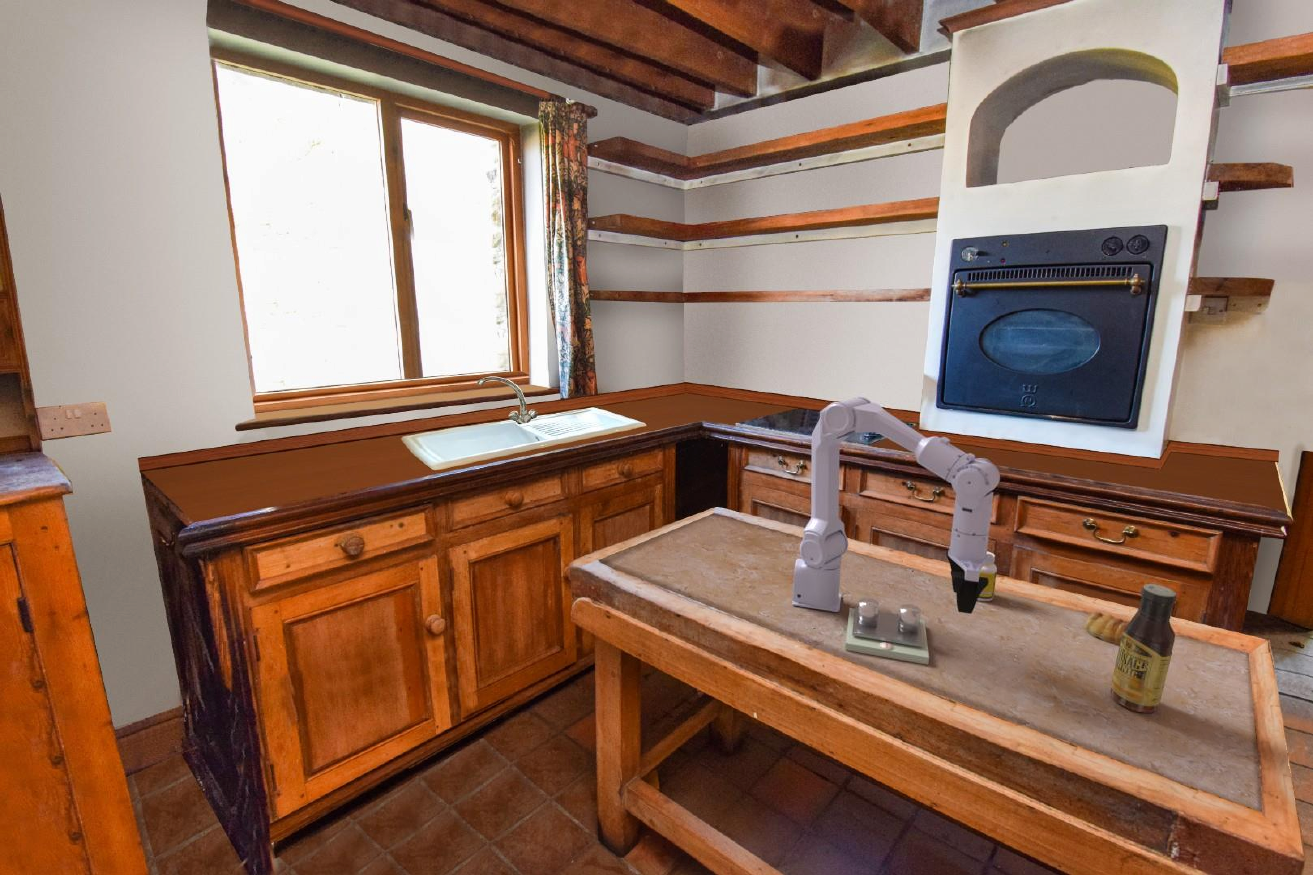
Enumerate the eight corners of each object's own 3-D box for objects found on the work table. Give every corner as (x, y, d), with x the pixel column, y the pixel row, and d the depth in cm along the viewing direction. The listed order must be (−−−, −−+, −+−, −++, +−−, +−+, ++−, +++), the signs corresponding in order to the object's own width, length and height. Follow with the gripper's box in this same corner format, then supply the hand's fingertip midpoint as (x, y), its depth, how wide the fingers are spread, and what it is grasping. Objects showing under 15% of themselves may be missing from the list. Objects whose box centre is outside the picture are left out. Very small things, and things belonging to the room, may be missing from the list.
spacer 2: (899, 631, 114) (900, 612, 113) (896, 622, 117) (898, 603, 116) (920, 634, 113) (921, 614, 112) (916, 624, 116) (918, 605, 116)
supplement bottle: (997, 603, 129) (1002, 560, 127) (969, 600, 130) (974, 557, 128) (988, 591, 135) (994, 549, 132) (962, 589, 136) (966, 547, 134)
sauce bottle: (1099, 691, 100) (1119, 579, 96) (1135, 689, 101) (1156, 577, 96) (1133, 718, 94) (1156, 599, 89) (1171, 715, 94) (1195, 597, 90)
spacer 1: (857, 624, 117) (858, 605, 116) (857, 615, 120) (859, 596, 119) (877, 627, 115) (878, 608, 114) (877, 618, 119) (878, 599, 118)
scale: (845, 649, 112) (845, 641, 112) (849, 613, 125) (849, 606, 125) (928, 664, 108) (929, 656, 107) (923, 625, 121) (924, 617, 120)
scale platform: (851, 639, 114) (852, 632, 114) (854, 614, 123) (854, 607, 123) (921, 651, 110) (922, 644, 110) (918, 624, 119) (919, 617, 119)
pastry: (1153, 645, 114) (1156, 626, 113) (1138, 656, 110) (1141, 637, 110) (1095, 623, 122) (1098, 605, 121) (1080, 633, 118) (1083, 615, 117)
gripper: (1004, 548, 98) (994, 625, 101) (989, 518, 111) (981, 587, 114) (955, 542, 100) (947, 618, 103) (947, 514, 114) (940, 581, 117)
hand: (962, 601), depth 109 cm, fingers open, 7 cm apart
